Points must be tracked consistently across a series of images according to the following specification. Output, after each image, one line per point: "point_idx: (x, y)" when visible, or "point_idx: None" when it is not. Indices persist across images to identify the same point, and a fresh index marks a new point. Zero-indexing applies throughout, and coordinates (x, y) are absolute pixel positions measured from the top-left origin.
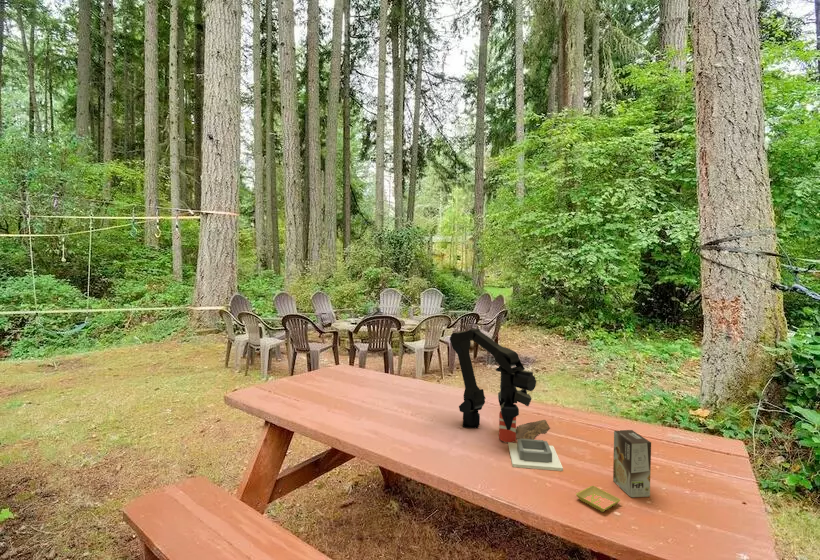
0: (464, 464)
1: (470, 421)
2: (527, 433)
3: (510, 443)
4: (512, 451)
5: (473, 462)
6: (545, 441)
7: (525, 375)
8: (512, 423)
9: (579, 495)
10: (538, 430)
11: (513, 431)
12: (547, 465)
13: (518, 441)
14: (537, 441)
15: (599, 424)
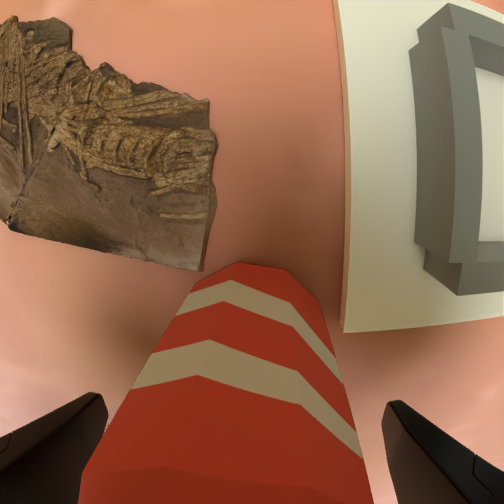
0: (492, 457)
1: None
2: (99, 147)
3: (362, 317)
4: (478, 305)
5: (491, 441)
6: (459, 18)
7: None
8: (349, 420)
9: None
10: (41, 69)
11: (317, 336)
12: None
13: (497, 286)
14: (476, 91)
15: None
